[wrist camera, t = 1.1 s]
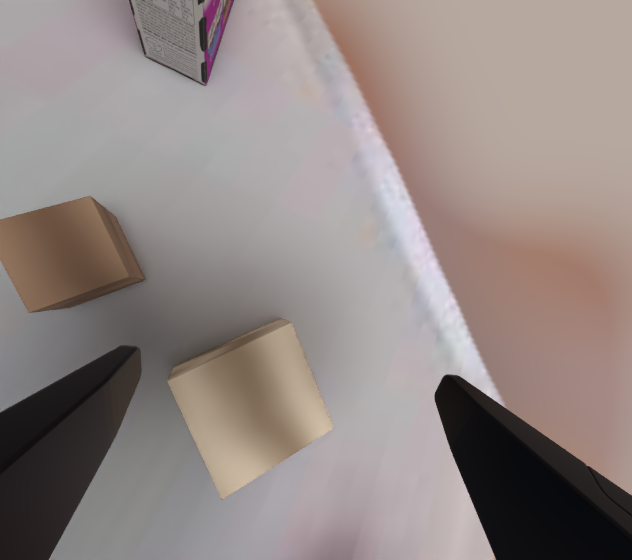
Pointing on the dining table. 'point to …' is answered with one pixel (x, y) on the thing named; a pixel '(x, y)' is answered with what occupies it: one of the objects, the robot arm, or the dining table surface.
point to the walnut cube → (66, 255)
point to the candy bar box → (182, 33)
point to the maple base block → (250, 404)
